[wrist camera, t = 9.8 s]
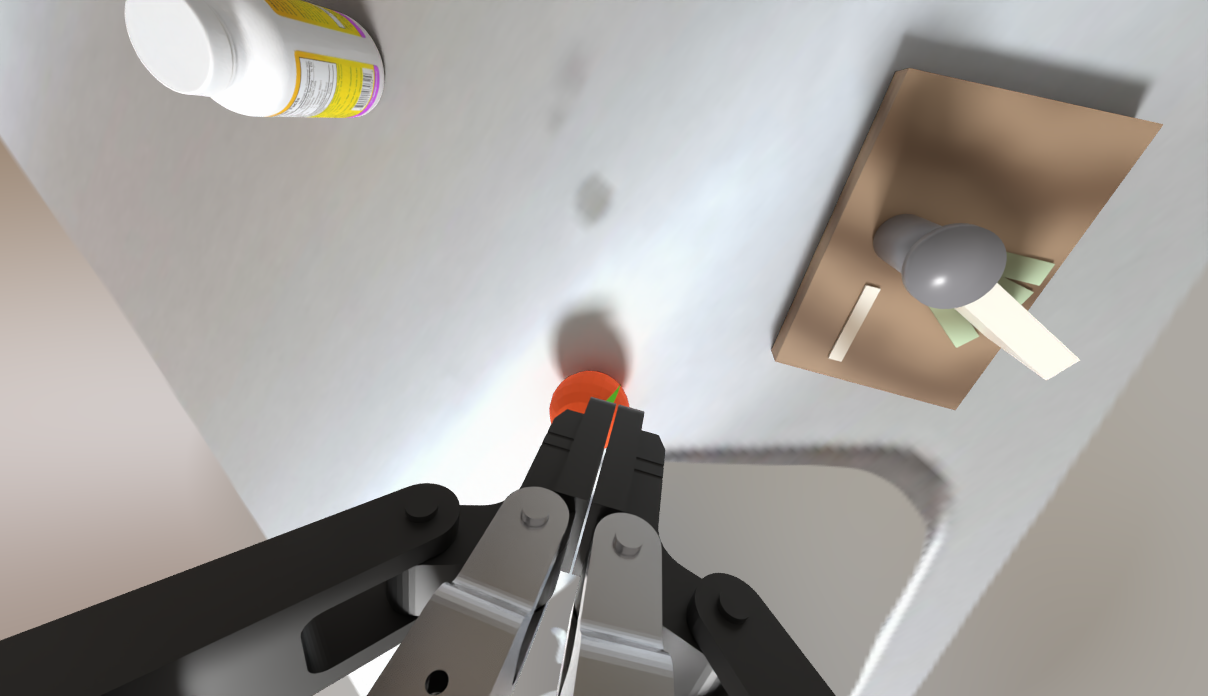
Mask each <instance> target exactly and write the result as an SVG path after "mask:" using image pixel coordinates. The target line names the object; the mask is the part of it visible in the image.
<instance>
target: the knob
mask: <svg viewBox="0 0 1208 696" xmlns="http://www.w3.org/2000/svg"><path fill="white" fill-rule="evenodd" d="M873 248H874V251H875V253H876V254H877V256H878V257H879V258H881V259H882V260H883V261H885V262H886V263H888V264H889V265H890V266H892V267H893V268H895V269H896V270H897V271H899V272H900V273H901V275H902V281H903V284H904V287H905V288H906V290H907V291H908V292H909V293H910V295H912V296H913V297H914V298H915V299H917V300H918V301H919V302H921V303H922V304H924V305H926V306H929V307H932V308H937V309H952V308H954V309H956V310H957V311H958V312H959V313H960V314H961V315H962V316H963V317H964V318H966V319H967V320H968V321H969V322H970V323H971V324H972V325H973V326H974V327H976V328H977V329H978V330H979V331H980V332H981V333H982V334H983V335H984V336H986V337H987V338H988V339H990V340H991V341H992V342H994V343H995V344H996V345H998V346H999V347H1001V348H1002V349H1003V350H1005V351H1006V352H1007V353H1009V354H1010V355H1012V356H1013V357H1014V358H1016V359H1017V360H1019V361H1020V362H1021V363H1023V364H1024V365H1025V366H1027V367H1028V368H1030V369H1031V370H1032V371H1034V372H1035V373H1036V374H1038V375H1039V376H1041V377H1042V378H1043V379H1045V380H1046V381H1047V380H1048V379H1050V378H1052V377H1053V376H1055V375H1057V374H1058V373H1060V372H1062V371H1063V370H1065V369H1066V368H1068V367H1070V366H1071V365H1073V364H1075V363H1076V362H1078V361H1080V359H1079V358H1077V357H1076V356H1075V355H1074V354H1073V353H1072V352H1071V351H1070V350H1069V349H1068V348H1067V347H1066V346H1065V345H1063V344H1062V343H1061V342H1060V341H1059V340H1058V339H1057V338H1056V337H1055V336H1054V335H1053V334H1052V333H1051V332H1049V331H1048V330H1047V329H1046V328H1045V327H1044V326H1043V325H1042V324H1041V323H1040V322H1039V321H1038V320H1037V319H1036V318H1034V317H1033V316H1032V315H1031V314H1030V313H1029V312H1028V311H1027V310H1026V309H1025V308H1024V307H1023V306H1022V305H1020V304H1019V303H1018V302H1017V301H1016V300H1015V299H1014V298H1013V297H1012V296H1011V295H1010V294H1009V293H1008V292H1006V291H1005V290H1004V289H1003V288H1002V287H1001V286H1000V285H999V284H998V283H997V282H998V281H999V279H1000V278H1001V276H1002V274H1003V272H1004V269H1005V266H1006V261H1007V254H1006V249H1005V246H1004V244H1003V242H1002V240H1001V239H1000V238H999V237H998V236H997V235H996V234H995V233H993V232H991V231H990V230H987V229H985V228H982V227H979V226H976V225H973V224H968V223H954V224H949V225H945V226H941V225H938V224H936V223H933V222H931V221H929V220H926V219H924V218H921V217H919V216H916V215H913V214H900V215H896V216H894V217H892V218H890V219H888V220H887V221H885V222H884V223H883V224H882V225H881V226H880V227H879V228H878V230H877V232H876V234H875V236H874V240H873Z"/></svg>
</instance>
